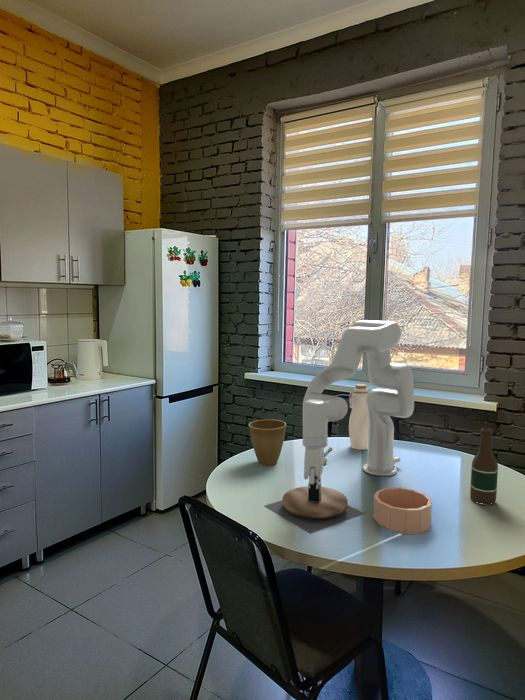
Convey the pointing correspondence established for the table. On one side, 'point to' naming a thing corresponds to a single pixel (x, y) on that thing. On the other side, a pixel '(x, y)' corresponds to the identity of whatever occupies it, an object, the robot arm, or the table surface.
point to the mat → (313, 523)
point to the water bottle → (358, 417)
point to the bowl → (403, 510)
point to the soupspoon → (324, 454)
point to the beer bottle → (484, 471)
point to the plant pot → (267, 440)
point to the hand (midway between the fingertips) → (314, 497)
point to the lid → (325, 507)
